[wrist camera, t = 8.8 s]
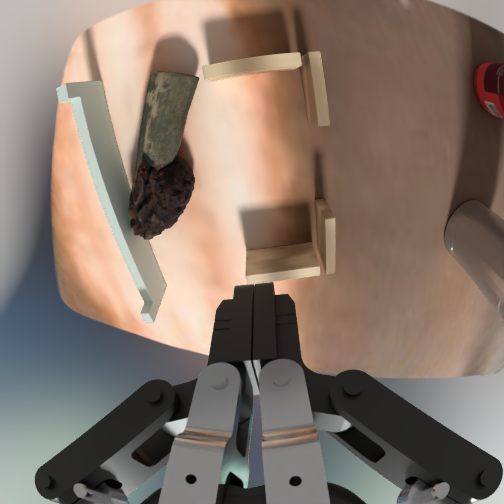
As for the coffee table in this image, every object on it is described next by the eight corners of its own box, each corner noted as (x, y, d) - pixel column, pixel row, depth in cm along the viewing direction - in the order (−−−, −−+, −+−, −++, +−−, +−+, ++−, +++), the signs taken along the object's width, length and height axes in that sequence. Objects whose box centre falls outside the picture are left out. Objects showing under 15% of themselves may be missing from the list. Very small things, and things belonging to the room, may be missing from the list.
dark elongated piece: (158, 71, 23) (139, 68, 18) (221, 81, 24) (215, 79, 19) (135, 219, 32) (117, 243, 27) (186, 231, 33) (176, 257, 28)
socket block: (308, 57, 22) (320, 51, 18) (325, 248, 34) (335, 273, 30) (210, 70, 23) (201, 66, 19) (248, 258, 35) (247, 284, 31)
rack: (101, 80, 22) (65, 83, 16) (166, 285, 37) (153, 322, 31) (93, 84, 22) (56, 88, 17) (159, 286, 37) (145, 323, 32)
